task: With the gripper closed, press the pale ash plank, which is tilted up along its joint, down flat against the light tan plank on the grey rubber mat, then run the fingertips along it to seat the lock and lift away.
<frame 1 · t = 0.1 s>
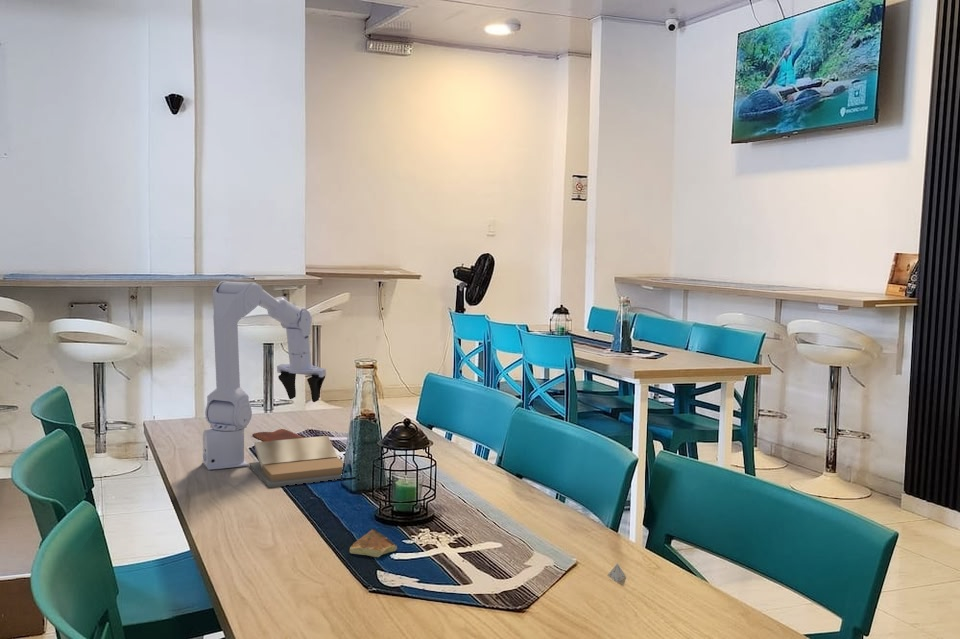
hand: (304, 399, 240), 11 cm above the table, tool pointing down, fingers open, 7 cm apart
tetrahedral die: (614, 580, 147), on the table
floor base: (301, 471, 207), on the table
ash plank: (296, 452, 210), point 4 cm above the table, hinge at 25.0°
shard: (367, 550, 159), on the table
wooden tablet: (288, 445, 235), on the table
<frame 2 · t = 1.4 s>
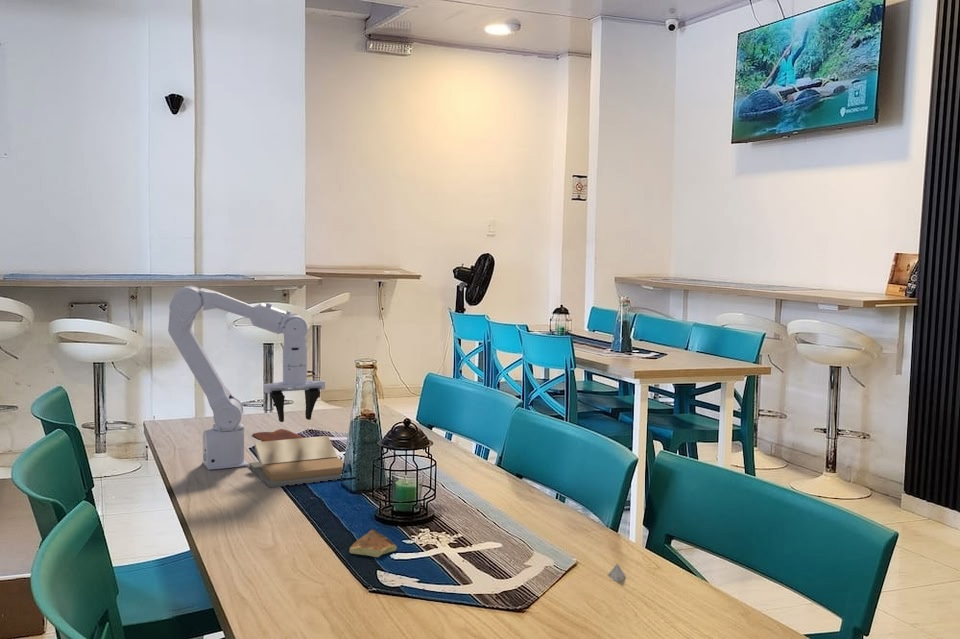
hand: (294, 420, 214), 10 cm above the table, tool pointing down, fingers open, 6 cm apart
nothing on the table moved.
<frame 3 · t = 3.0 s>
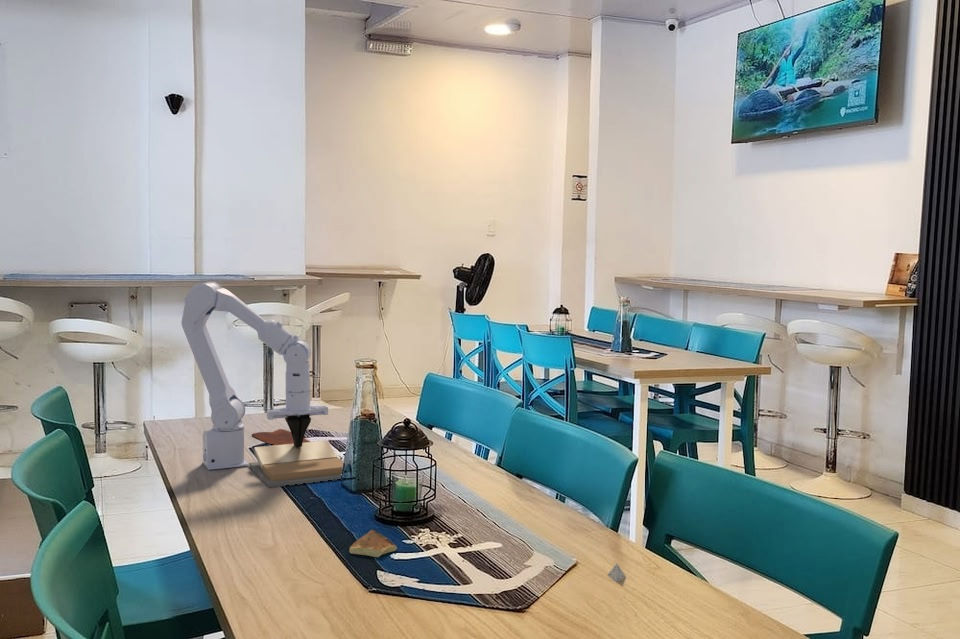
hand: (298, 446, 213), 4 cm above the table, tool pointing down, fingers closed, pressing on ash plank
ash plank: (295, 454, 211), point 3 cm above the table, hinge at 15.6°, touching gripper
everything else where it was.
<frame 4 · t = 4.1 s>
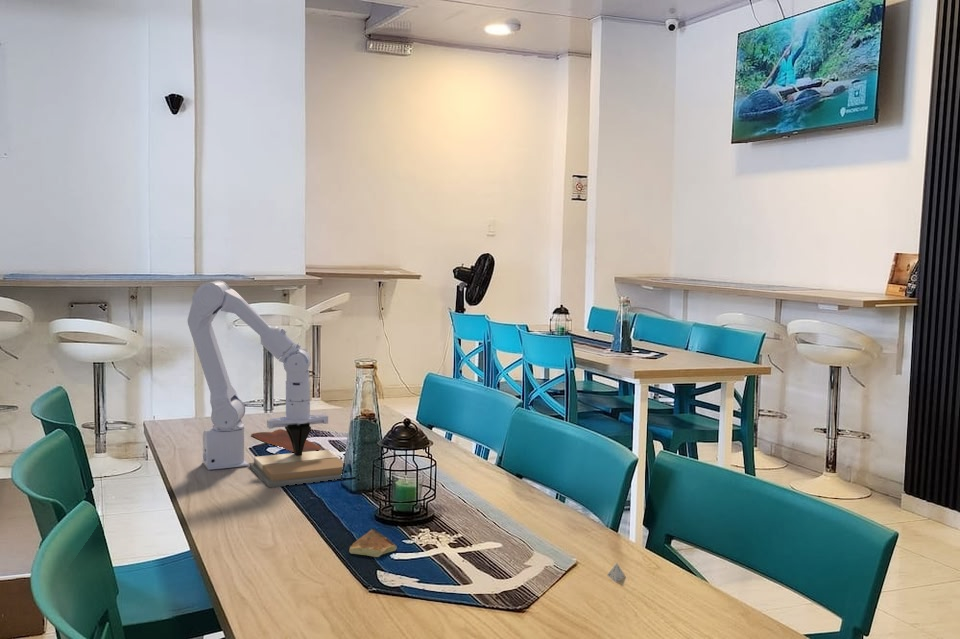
hand: (298, 454, 213), 2 cm above the table, tool pointing down, fingers closed, pressing on ash plank
ash plank: (295, 460, 211), point 2 cm above the table, hinge at -0.7°, touching floor base, gripper
everything else where it was.
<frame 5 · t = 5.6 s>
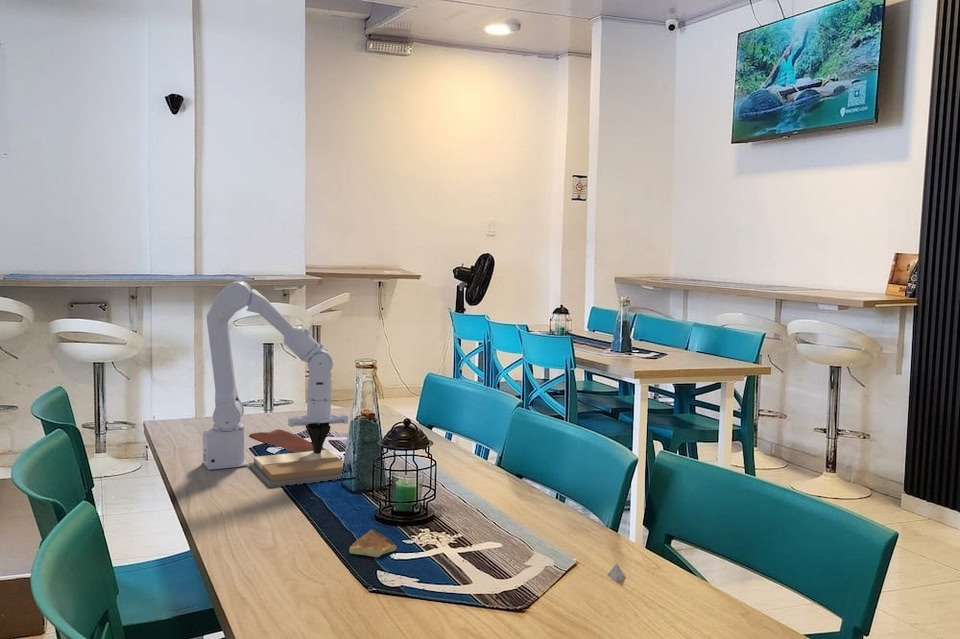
hand: (317, 453, 215), 2 cm above the table, tool pointing down, fingers closed, pressing on ash plank
ash plank: (295, 460, 211), point 2 cm above the table, hinge at -0.7°, touching floor base, gripper
everything else where it was.
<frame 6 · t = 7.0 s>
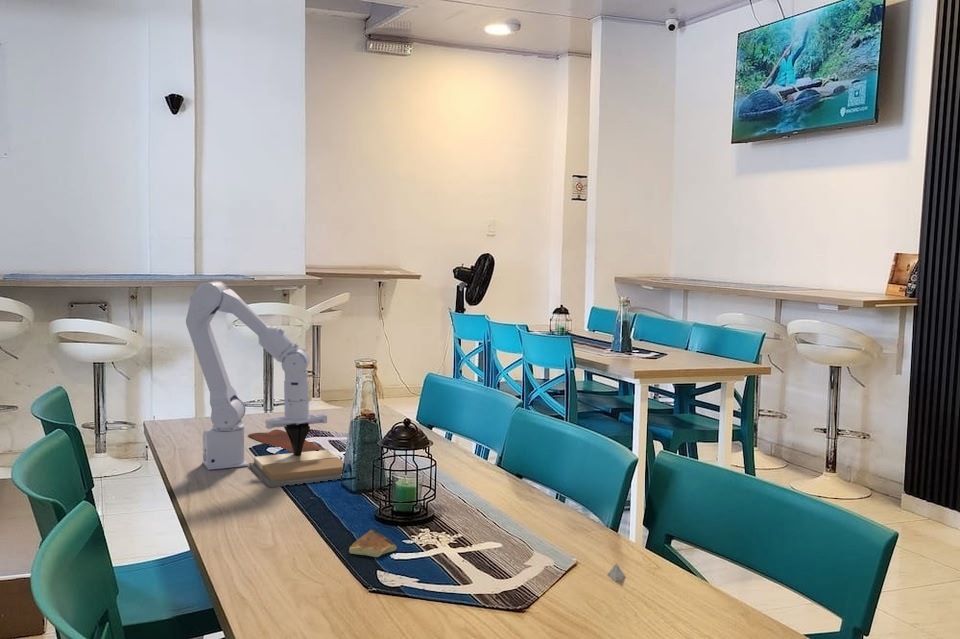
hand: (297, 454, 213), 2 cm above the table, tool pointing down, fingers closed, pressing on ash plank
ash plank: (295, 460, 211), point 2 cm above the table, hinge at -0.7°, touching floor base, gripper
everything else where it was.
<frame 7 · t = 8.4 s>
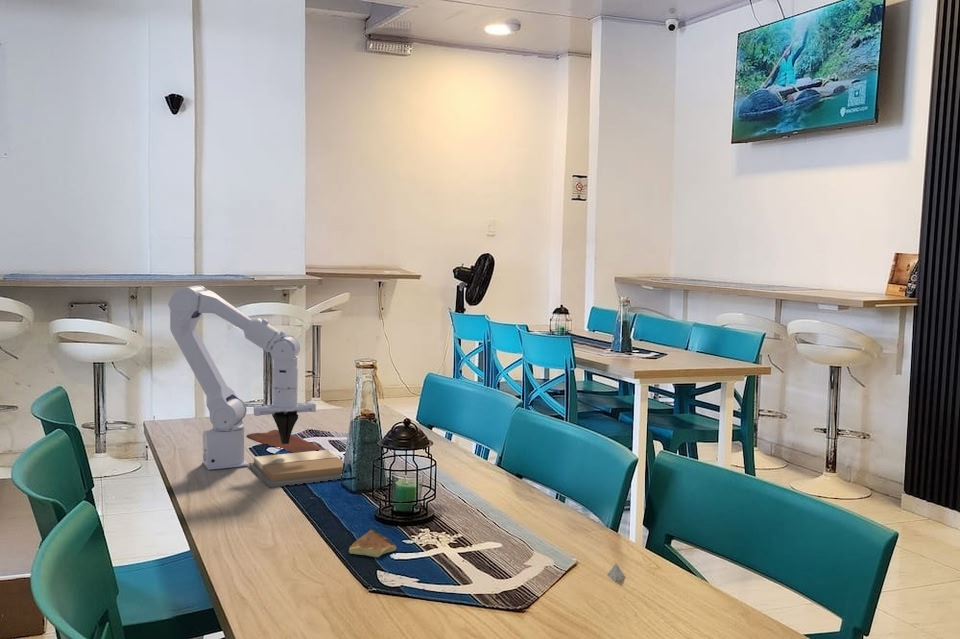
hand: (284, 443, 211), 6 cm above the table, tool pointing down, fingers closed
ash plank: (295, 460, 211), point 2 cm above the table, hinge at -0.7°, touching floor base
everything else where it was.
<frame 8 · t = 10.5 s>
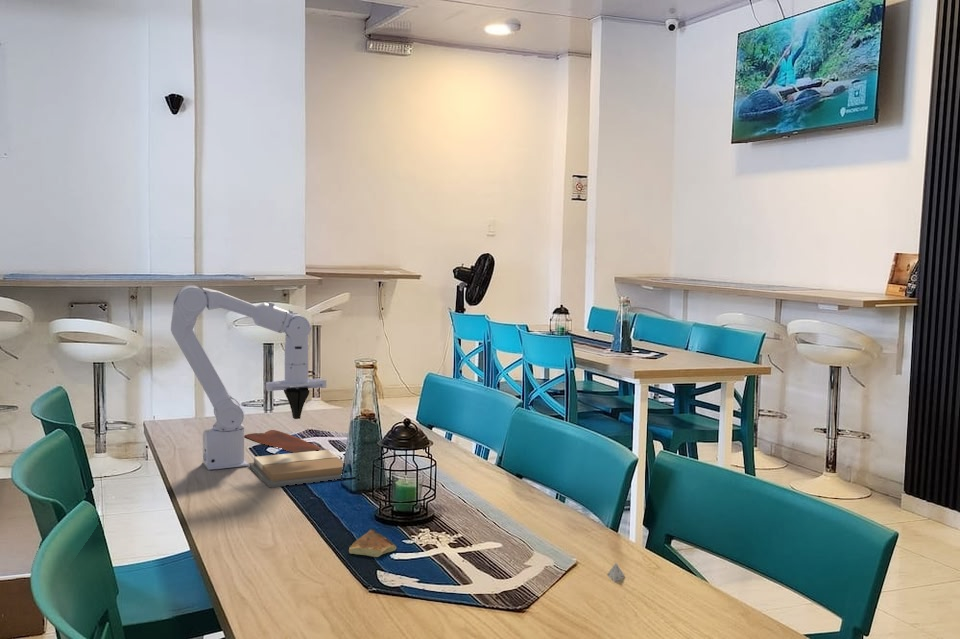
hand: (296, 418, 217), 10 cm above the table, tool pointing down, fingers closed
at the end: ash plank at -1° (first picture: +25°); the gripper is holding nothing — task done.
